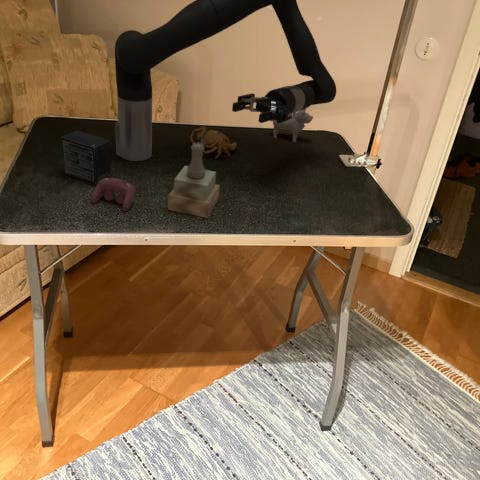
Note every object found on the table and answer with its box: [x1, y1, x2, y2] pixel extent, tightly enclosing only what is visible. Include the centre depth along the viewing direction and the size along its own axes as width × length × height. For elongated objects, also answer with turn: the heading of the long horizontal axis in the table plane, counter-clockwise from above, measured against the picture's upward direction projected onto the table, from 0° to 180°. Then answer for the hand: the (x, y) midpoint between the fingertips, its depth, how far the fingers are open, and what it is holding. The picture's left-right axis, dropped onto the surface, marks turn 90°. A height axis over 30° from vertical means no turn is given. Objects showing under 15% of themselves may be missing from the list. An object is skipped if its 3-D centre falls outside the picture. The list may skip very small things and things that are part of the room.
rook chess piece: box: [187, 141, 206, 179], centre depth 117 cm, size 4×4×8 cm
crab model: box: [189, 125, 238, 160], centre depth 151 cm, size 16×13×6 cm
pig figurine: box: [272, 108, 314, 143], centre depth 163 cm, size 5×13×11 cm, turn 75°
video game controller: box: [91, 177, 137, 212], centre depth 119 cm, size 10×5×7 cm, turn 73°
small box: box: [60, 130, 112, 186], centre depth 127 cm, size 11×6×10 cm, turn 65°
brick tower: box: [167, 165, 221, 219], centre depth 121 cm, size 10×10×8 cm
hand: (246, 113), depth 121 cm, fingers open, 8 cm apart
